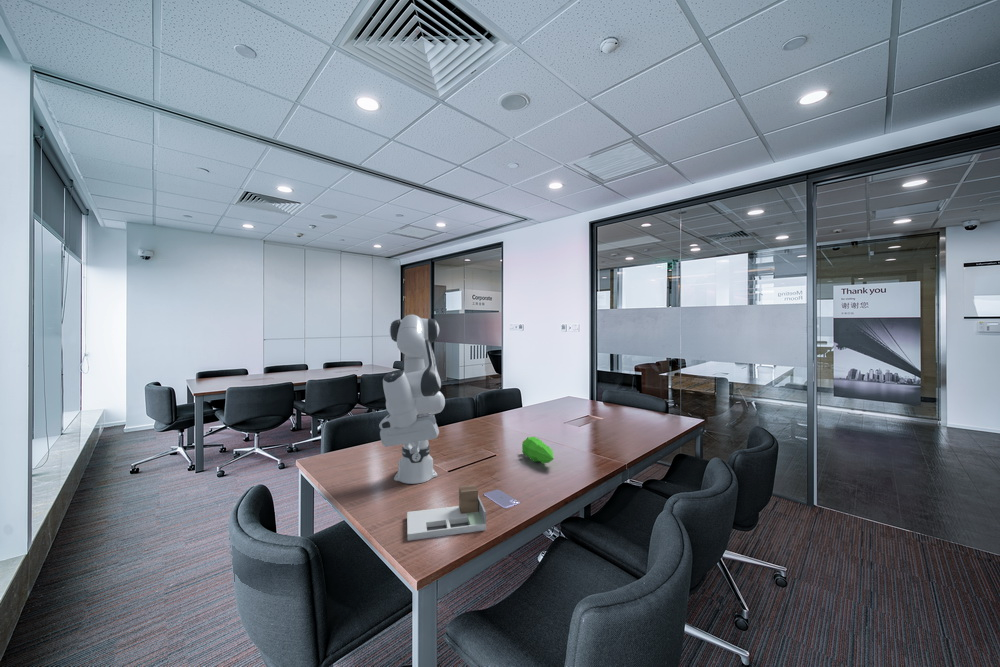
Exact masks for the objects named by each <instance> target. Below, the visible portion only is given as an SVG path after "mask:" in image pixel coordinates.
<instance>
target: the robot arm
mask: <svg viewBox="0 0 1000 667" xmlns="http://www.w3.org/2000/svg"><path fill="white" fill-rule="evenodd" d="M439 334H440V326H439V323H438V321H437V320H436V319H434V318H431V317H430V318H429V317H428V318H422V317H420V316H418V315H416V314H408V315H406V316H404V317H403V318H402V319H400V318H398V319H395V320H393V321H392V322H391V323H390V327H389V335H390V338H391V340H392V341H394V343H396V345H397V349H398V350H399V351H400V353H402V354H403V355H404V357H403V358H404V360H403V361H404V363H403V365H404V366H403V370H400V369H397V370H391V371H390V372H388V373H386V374H385V375H384V376H383V379H382V387H383V392H384V393H383V394H384V398H385V407H386V411H387V413H388V415H387V414H386V416H385V417H384V418H383V419H381V421H380V423H379V425H378V427H379V429H380V431H379V437H380V440H381V443H382V444H381V445H383V446H384V447H387V448H388V447H393V446H399V445H400V446H401V445H403V446H402V447H401V448H402V450H401V458H400V459H399V460H398V464H397V465H398V469H397V472H396V474H395V476H394V477H393V480H394V481H396V482H400V483H403V484H407V485H410V484H411V485H412V484H413V485H415V484H416V485H417V484H421V483H425V482H428V481H430V480H432V479H433V478H436V477H438V473H437V472H436V470H435V469H434V458H433V457H432V456H431V455H430V453H431V452H430V444H429V441H430V440H435V439H437V438H438V436H439V434H440V430H439V426H438V424H437V419H436V417H435V415H437V414H439V413H441V412H443V410H444V409H445V405H446V399H445V396H444V394H443V393H442V392H441V391H440V390H441V388H442V382H441V381H442V379H441V378H440V374H439V371H438V367H437V362H436V356H435V353H434V349H433V346H432V343H434V342H435V341H436V340H438V338H439Z"/></svg>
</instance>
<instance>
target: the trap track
mask: <svg viewBox="0 0 1000 667" xmlns="http://www.w3.org/2000/svg"><path fill="white" fill-rule="evenodd" d="M406 514H407V515H406V518H407V519H406V520H407V523H406V524H407V528H406V529H407V533H406V534H407V535H406V536H407V541H415V540H417V541H418V540H424V539H430V538H437V537H439V538H440V537H445V536H452V535H458V534H466V533H474V532H475V533H476V532H481V531H487V511H486V508H485V507H484V504H483V502H482V500H481V497H480V495H479V494H478V512H472V513H464V514H461V512H460V509H459V505H455V506H454V505H453V506H446V507H439V508H438V507H437V508H430V509H420V510H415V511H413V510H412V511H407V512H406Z"/></svg>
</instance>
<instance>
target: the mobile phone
mask: <svg viewBox="0 0 1000 667" xmlns="http://www.w3.org/2000/svg"><path fill="white" fill-rule="evenodd" d="M483 495H484V496H485V497H486V498H488V499H489V500H490V501H492V502H494V503H495V504H496V505H498V506H500V507H501V508H503V509H508V508H512V507H514V505H515V506H517V504H518V505H520V501H518V500H517V499H515V498H513V497H512V496H510V494H508V493H506V492H503V491H502V490H500V489H494V490H491V491H487V492H484V494H483Z"/></svg>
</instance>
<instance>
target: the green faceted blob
mask: <svg viewBox="0 0 1000 667" xmlns="http://www.w3.org/2000/svg"><path fill="white" fill-rule="evenodd" d="M521 447H522V448H521V450H522V451H521V452H522V453H523V454H524V455H525V457H526V458H529V459H530V460H532V462H534V463H536V462H537V461H538V462H540V463H541V464H544V465H545V464H549V463H550V462H552V461H553V460H554V452H553V449H552V448H551V447H550V446H549V445H547V444H546V443H544V442H543V440H541V439H540V438H538V437H536V436H527V438H525V439H523V441H522V446H521Z"/></svg>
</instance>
